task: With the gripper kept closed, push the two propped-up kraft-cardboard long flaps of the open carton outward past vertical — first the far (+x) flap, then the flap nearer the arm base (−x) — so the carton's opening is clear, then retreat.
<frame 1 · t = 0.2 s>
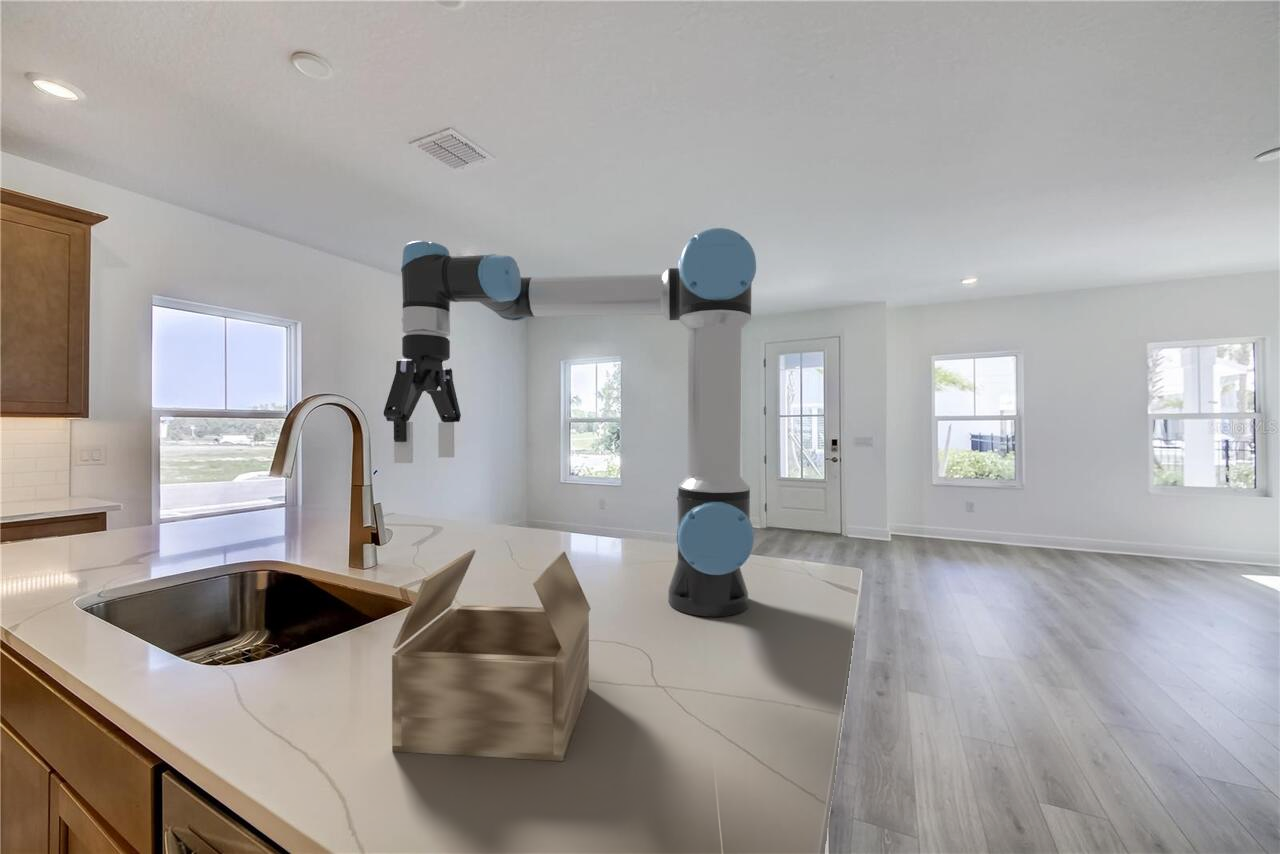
hand: (426, 460, 86), 28 cm above the worktop, fingers open, 13 cm apart
carton: (501, 716, 58), on the worktop
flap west: (564, 597, 57), point 14 cm above the worktop, hinge at 65.0°
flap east: (438, 593, 58), point 14 cm above the worktop, hinge at 65.0°
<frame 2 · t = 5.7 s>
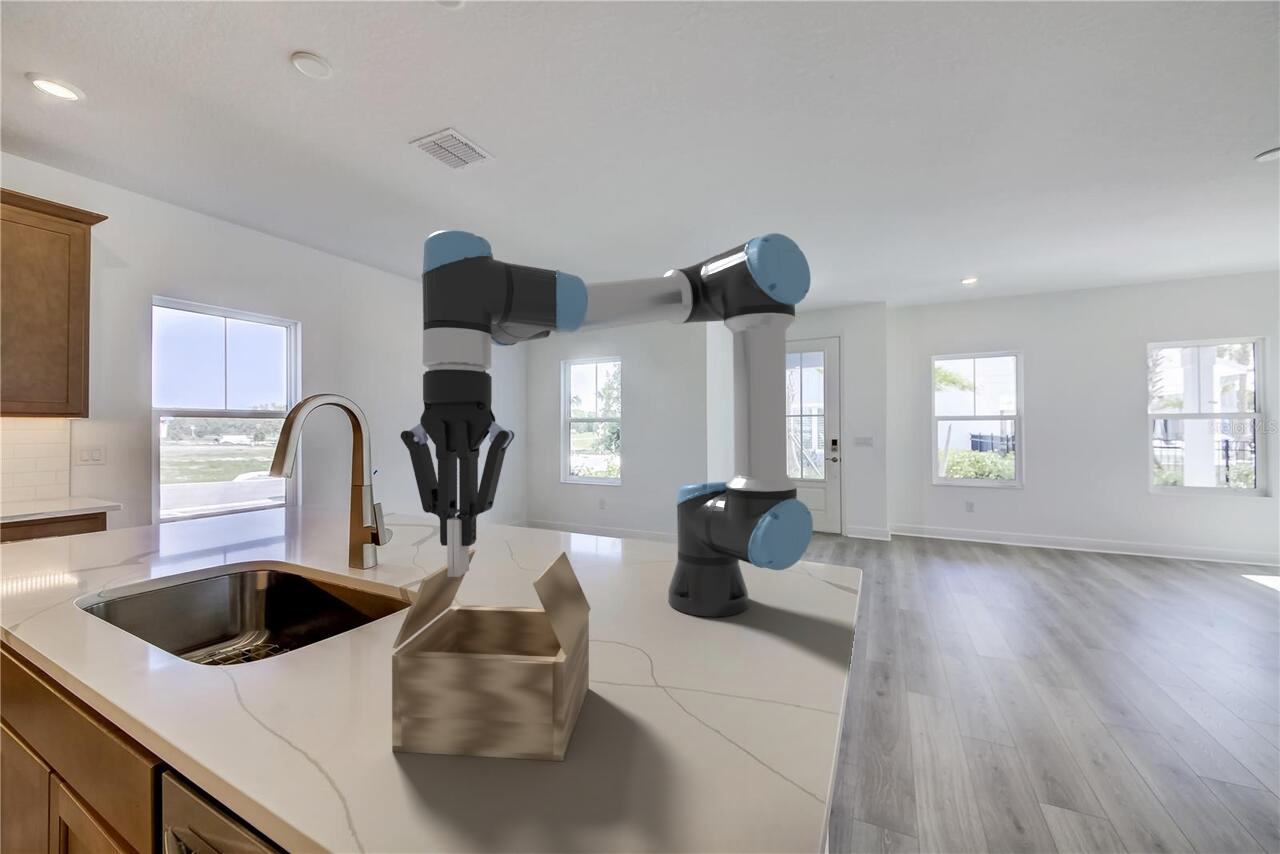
hand: (458, 573, 58), 17 cm above the worktop, fingers closed
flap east: (438, 593, 58), point 14 cm above the worktop, hinge at 65.4°, touching gripper
everything else where it was.
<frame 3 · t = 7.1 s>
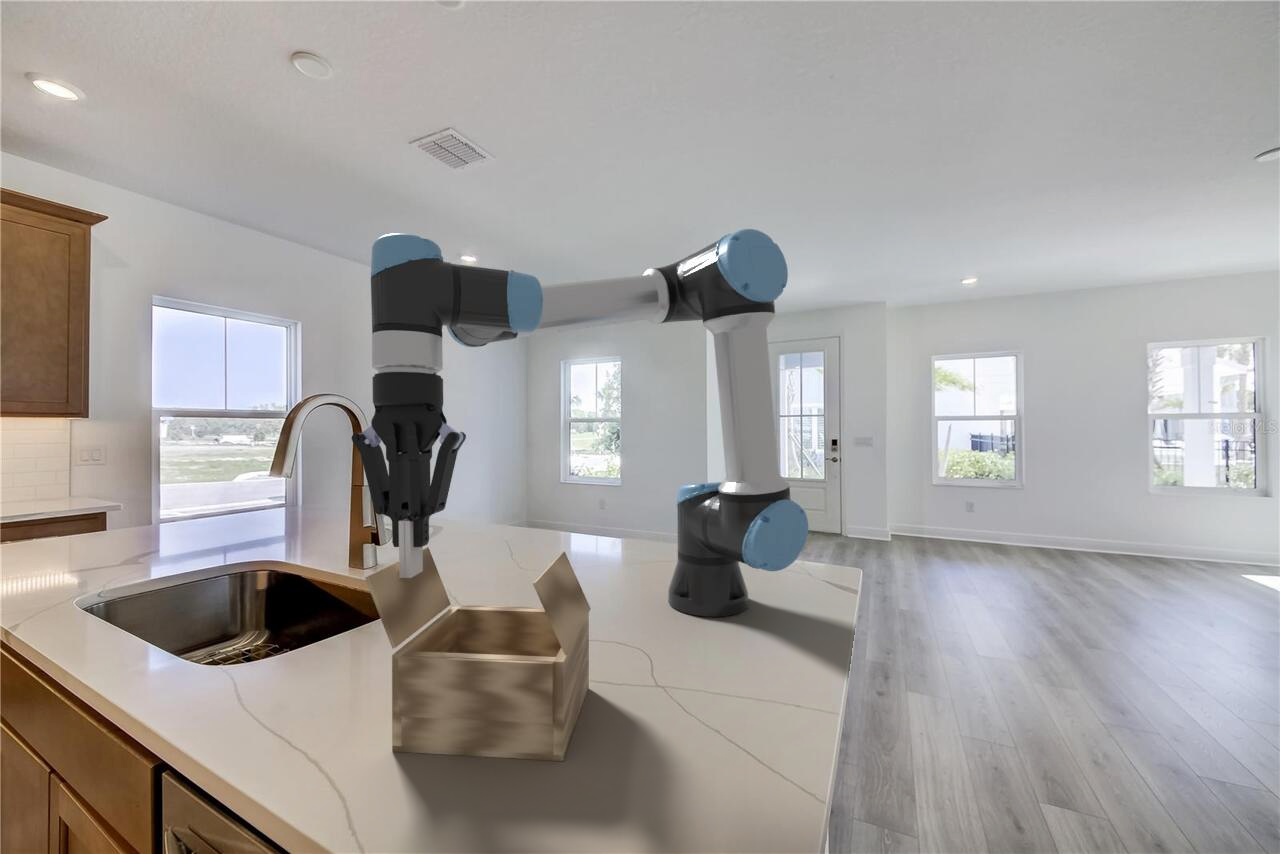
hand: (411, 574, 59), 16 cm above the worktop, fingers closed
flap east: (412, 592, 59), point 14 cm above the worktop, hinge at 112.3°, touching gripper
everything else where it was.
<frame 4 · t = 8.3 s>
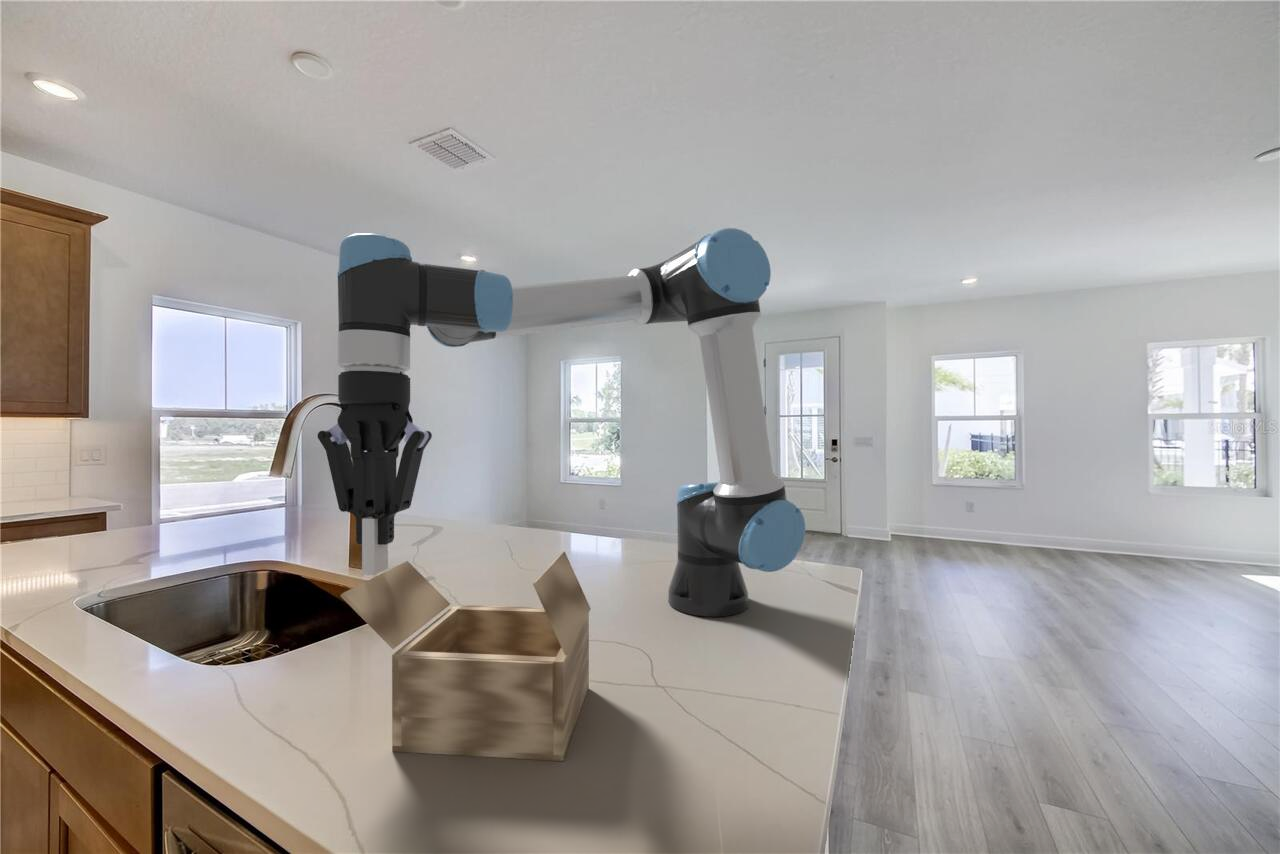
hand: (375, 571, 59), 16 cm above the worktop, fingers closed
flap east: (401, 600, 59), point 13 cm above the worktop, hinge at 136.8°
everything else where it was.
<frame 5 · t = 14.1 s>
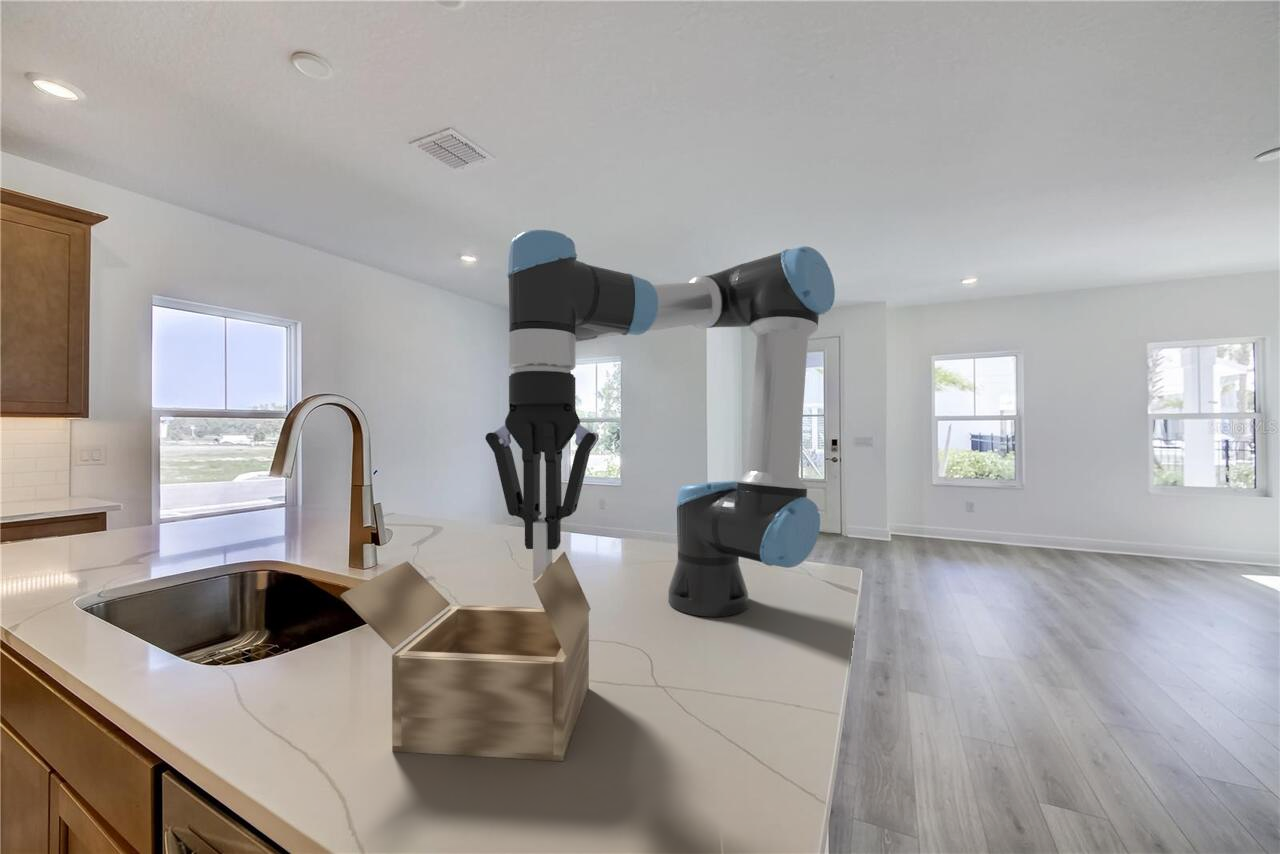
hand: (542, 576, 58), 16 cm above the worktop, fingers closed
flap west: (564, 597, 57), point 14 cm above the worktop, hinge at 65.0°, touching gripper
everything else where it was.
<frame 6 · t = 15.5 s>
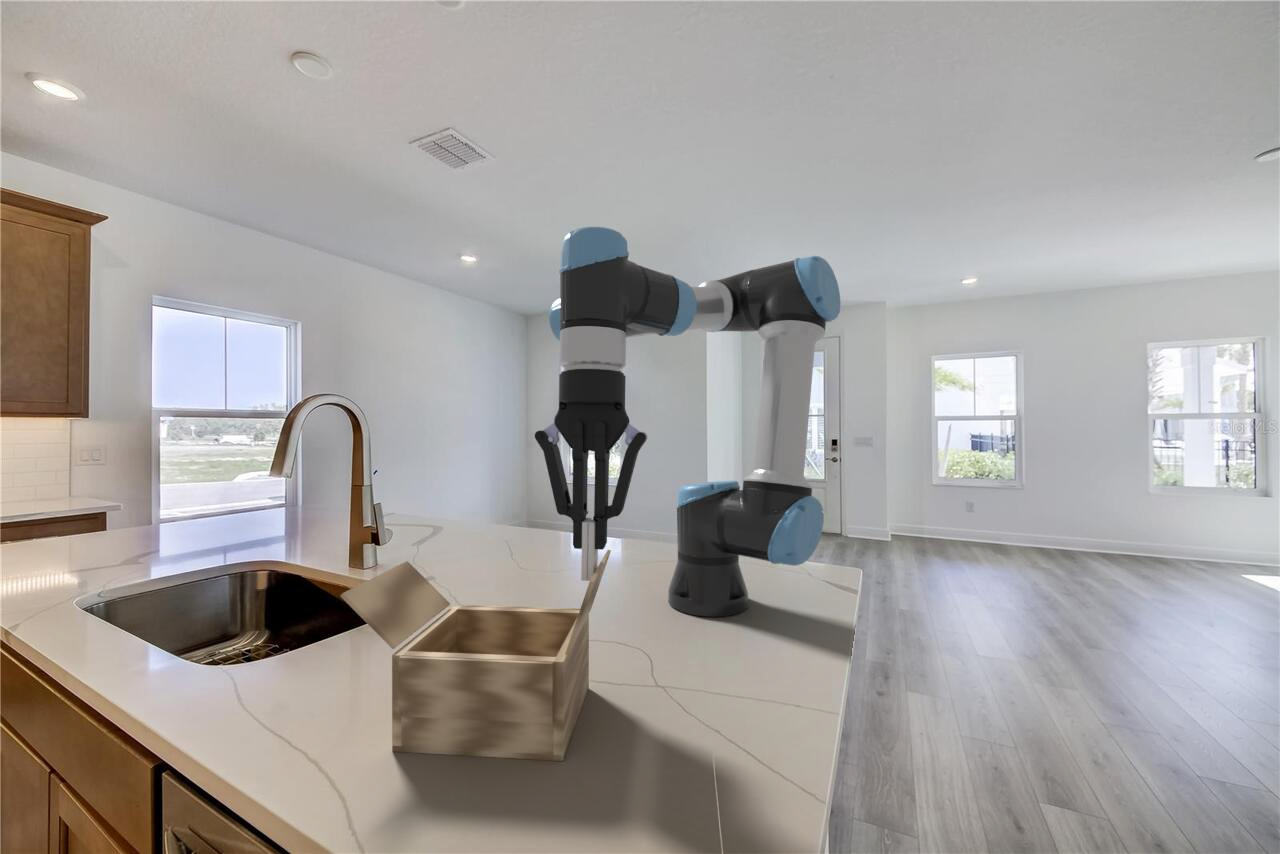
hand: (589, 576, 57), 16 cm above the worktop, fingers closed
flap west: (590, 596, 57), point 14 cm above the worktop, hinge at 108.8°, touching gripper
everything else where it was.
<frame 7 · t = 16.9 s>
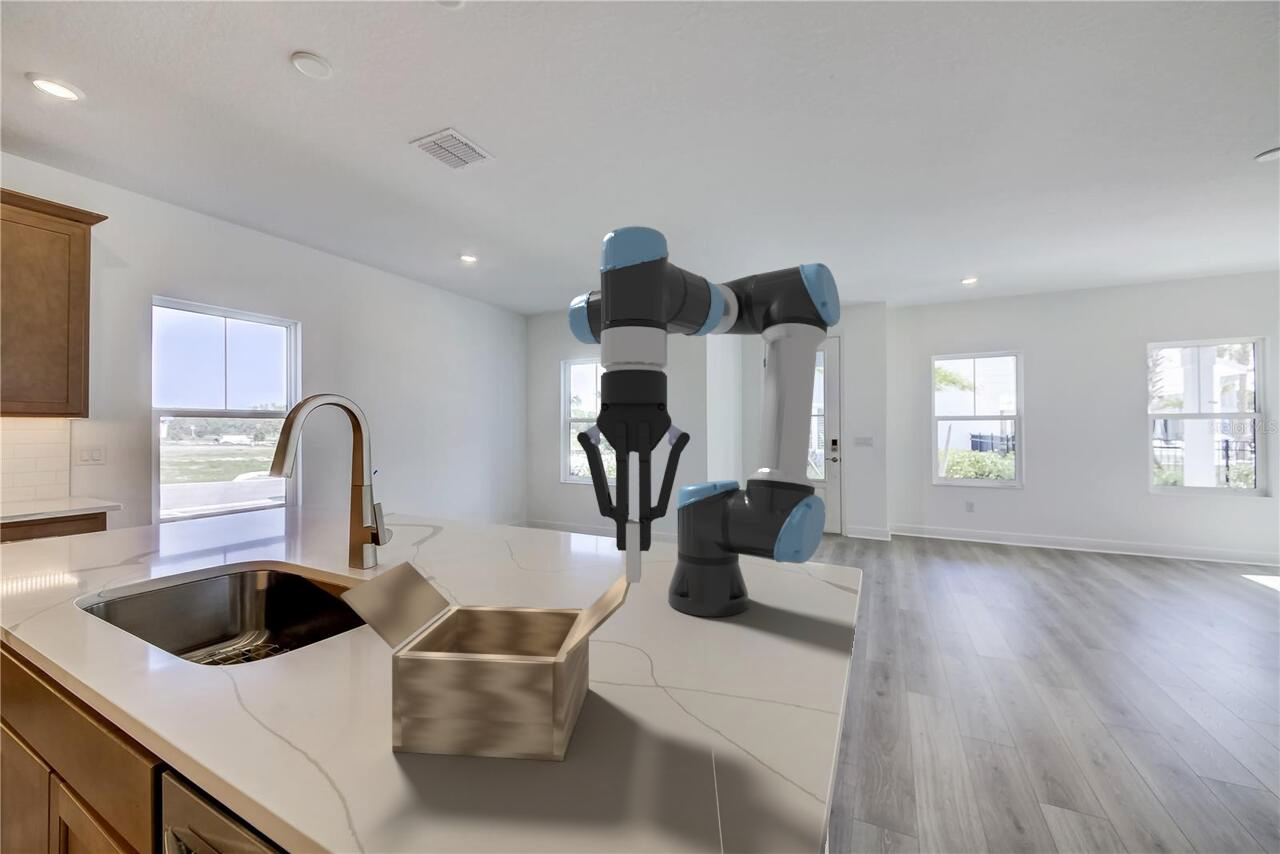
hand: (633, 578, 57), 16 cm above the worktop, fingers closed
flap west: (604, 606, 57), point 13 cm above the worktop, hinge at 135.8°
everything else where it was.
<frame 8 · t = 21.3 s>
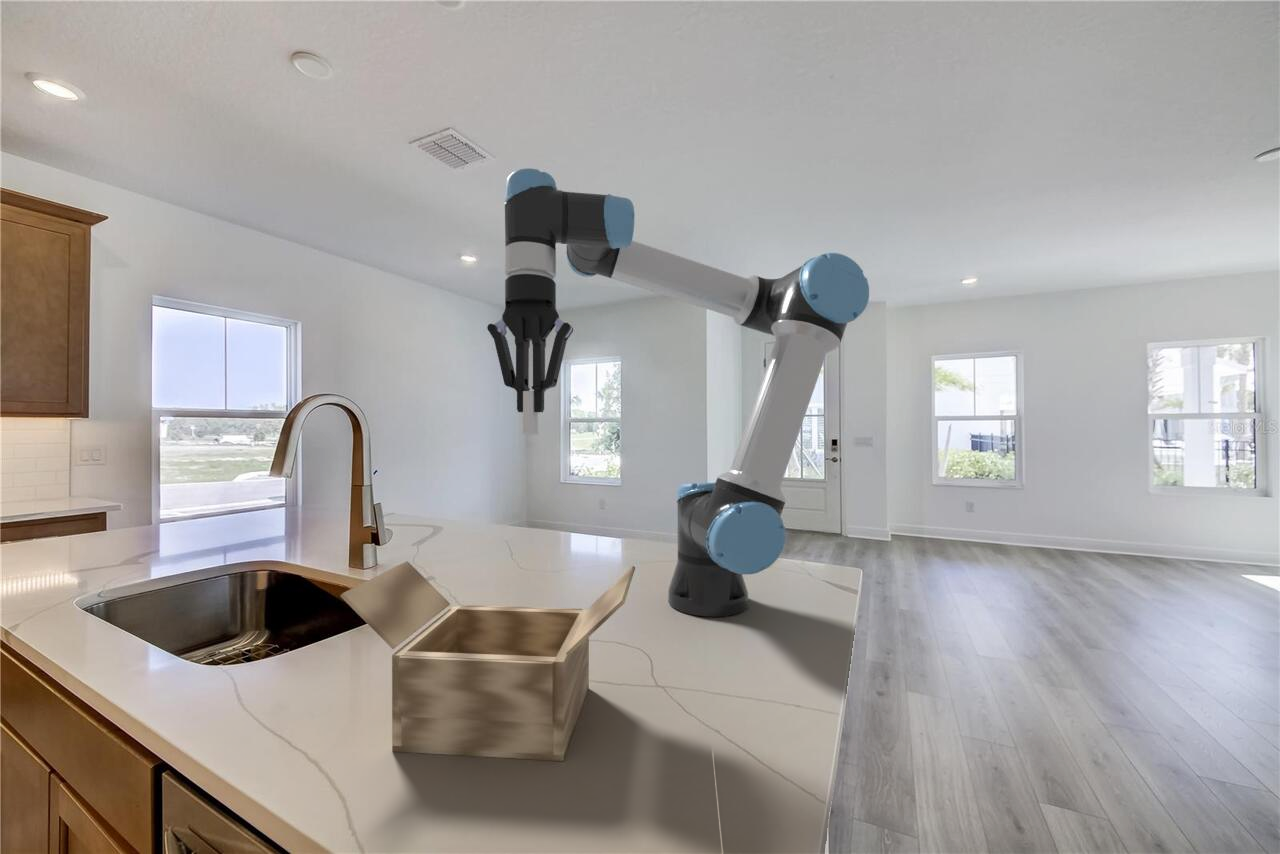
hand: (530, 434, 76), 32 cm above the worktop, fingers closed
nothing on the worktop moved.
at the end: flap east at +137° (first picture: +65°); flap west at +136° (first picture: +65°) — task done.
